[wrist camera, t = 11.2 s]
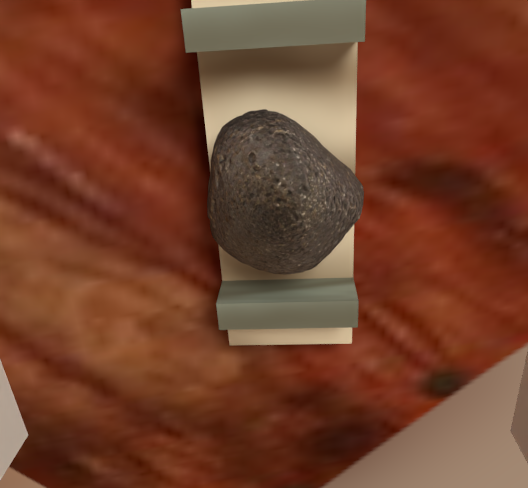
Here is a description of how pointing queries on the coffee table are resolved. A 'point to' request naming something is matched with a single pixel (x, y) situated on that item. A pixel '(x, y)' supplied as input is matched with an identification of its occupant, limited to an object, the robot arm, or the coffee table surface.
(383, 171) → the coffee table surface
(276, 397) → the coffee table surface
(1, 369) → the robot arm
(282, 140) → the stone
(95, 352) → the coffee table surface
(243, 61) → the cream and green rack
